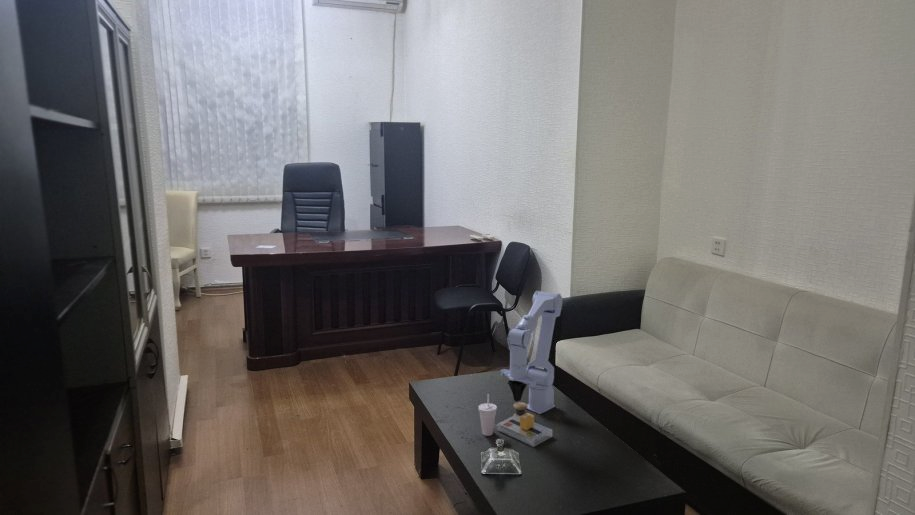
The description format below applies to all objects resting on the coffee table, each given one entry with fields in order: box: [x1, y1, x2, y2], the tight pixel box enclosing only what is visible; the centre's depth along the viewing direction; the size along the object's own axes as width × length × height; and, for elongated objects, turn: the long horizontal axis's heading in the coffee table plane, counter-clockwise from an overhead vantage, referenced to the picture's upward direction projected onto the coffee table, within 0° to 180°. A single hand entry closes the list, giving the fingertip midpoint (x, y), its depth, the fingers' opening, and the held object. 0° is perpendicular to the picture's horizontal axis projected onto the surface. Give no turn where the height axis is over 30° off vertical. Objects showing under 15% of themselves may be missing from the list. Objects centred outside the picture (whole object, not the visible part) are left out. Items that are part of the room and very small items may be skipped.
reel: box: [512, 401, 528, 416], centre depth 216 cm, size 5×5×5 cm
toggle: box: [520, 412, 535, 430], centre depth 202 cm, size 4×3×4 cm
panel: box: [497, 414, 553, 448], centre depth 204 cm, size 10×16×3 cm, turn 44°
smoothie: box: [478, 393, 498, 437], centre depth 203 cm, size 6×6×14 cm
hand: (517, 400), depth 206 cm, fingers closed
